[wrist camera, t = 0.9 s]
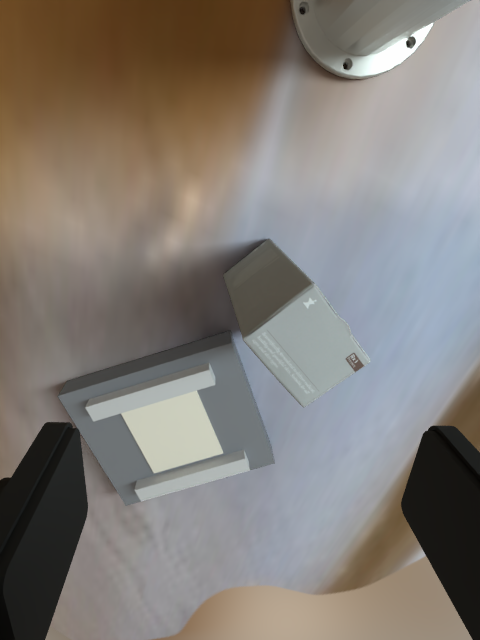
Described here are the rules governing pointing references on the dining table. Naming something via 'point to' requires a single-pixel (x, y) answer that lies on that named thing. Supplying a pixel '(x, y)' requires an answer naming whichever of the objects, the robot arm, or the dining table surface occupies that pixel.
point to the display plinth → (170, 419)
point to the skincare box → (291, 324)
